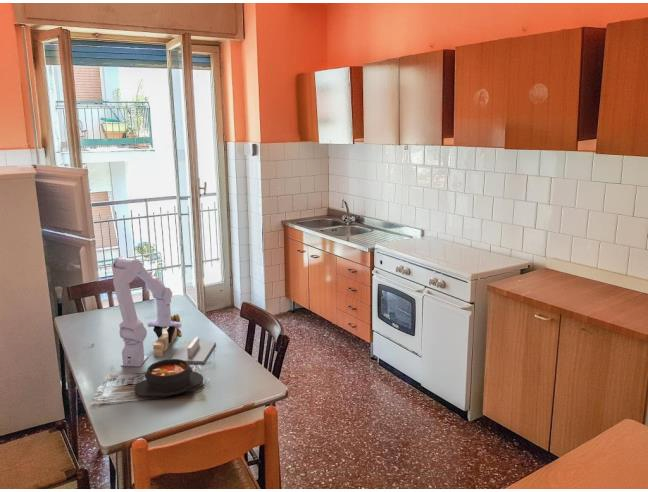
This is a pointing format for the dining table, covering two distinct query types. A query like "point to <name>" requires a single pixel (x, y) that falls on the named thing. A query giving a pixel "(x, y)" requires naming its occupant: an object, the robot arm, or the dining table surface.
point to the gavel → (176, 319)
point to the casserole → (168, 378)
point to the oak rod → (163, 343)
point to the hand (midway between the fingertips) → (165, 342)
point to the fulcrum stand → (194, 351)
